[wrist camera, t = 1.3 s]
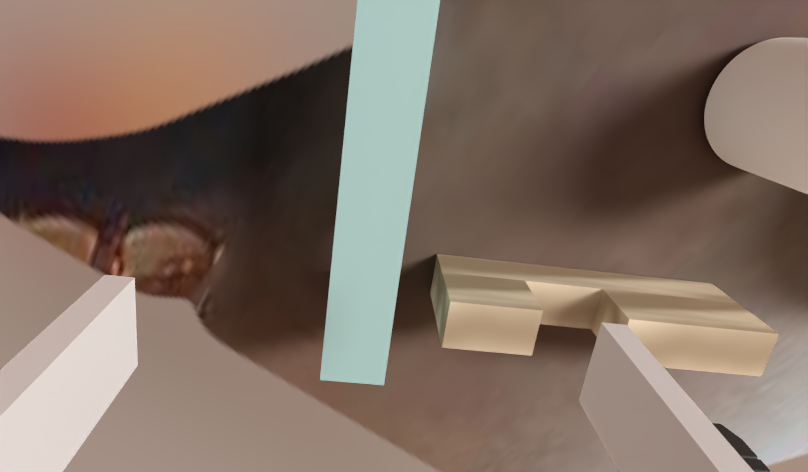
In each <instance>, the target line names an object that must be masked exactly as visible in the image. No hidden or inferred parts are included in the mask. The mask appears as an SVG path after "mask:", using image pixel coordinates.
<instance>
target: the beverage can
mask: <svg viewBox="0 0 808 472" xmlns="http://www.w3.org/2000/svg"><path fill="white" fill-rule="evenodd" d="M704 126H705V132H706V136H707V139H708V142H709V144H710V146H711V147H712V149H713V150H714V152H715V153H716V154H717V155H718V156H719V157H720V158H721V159H722V160H723V161H725V162H726V163H728V164H730V165H732V166H734V167H737V168H740V169H742V170H745V171H747V172H750V173H753V174H755V175H758V176H761V177H763V178H766V179H769V180H771V181H774V182H776V183H779V184H782V185H784V186H787V187H790V188H792V189H795V190H797V191H800V192H803V193H805V194H808V38H774V39H769V40H765V41H762V42H760V43H757V44H755V45H753V46H751V47H749V48H747V49H746V50H744V51H743V52H741V53H740V54H739V55H737V56H736V57H735V58H734V59H733V60H731V61H730V62H729V63H728V64H727V66H726V67H725V68H724V69H723V70H722V72H721V73H720V74H719V76H718V77H717V79H716V80H715V82H714V84H713V86H712V88H711V90H710V92H709V95H708V98H707V102H706V106H705V112H704Z"/></svg>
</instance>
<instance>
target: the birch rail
mask: <svg viewBox="0 0 808 472" xmlns="http://www.w3.org/2000/svg"><path fill="white" fill-rule="evenodd" d="M430 294H431V299H432V304H433V308H434V313H435V318H436V322H437V327H438V332H439V336H440V341H441V346H442V348H453V349H464V350H475V351H486V352H497V353H508V354H519V355H530V356H532V353H533V349H534V345H535V341H536V337H537V333H538V329H539V325H540V324H543V325H553V326H564V327H574V328H585V329H591V330H592V331H593V333H594V334H595V335H596V337H597V336H598V333H599V329H600V326H601V322H602V323H613V324H623V325H627V326H628V327H629V328H630V329H631V331H632V332H633V333H634V334H635V335H636V336H637V338H638V339H639V340H640V341H641V342H642V343H643V344H644V346H645V347H646V348H647V349H648V350H649V351H650V352H651V354H652V355H653V356H654V357H655V358H656V359H657V361H658V362H659V363H660V364H661V365H662V366H663V367H664V368H674V369H685V370H696V371H707V372H718V373H729V374H740V375H752V376H761V375H762V373H763V371H764V368H765V366H766V364H767V361H768V359H769V357H770V354H771V352H772V350H773V347H774V345H775V343H776V340H777V338H778V336H779V334H778V333H777V332H776V331H774V330H773V329H772V328H770V327H769V326H768V325H766V324H765V323H764V322H762V321H761V320H760V319H758V318H757V317H756V316H754V315H753V314H752V313H750V312H749V311H748V310H746V309H745V308H744V307H742V306H741V305H740V304H738V303H737V302H736V301H734V300H733V299H732V298H730V297H729V296H728V295H726V294H725V293H724V292H722V291H721V290H720V289H718V288H717V287H716V286H714V285H713V284H712V283H704V282H694V281H685V280H676V279H666V278H657V277H648V276H638V275H629V274H620V273H610V272H601V271H592V270H582V269H573V268H564V267H554V266H545V265H536V264H526V263H517V262H507V261H498V260H489V259H479V258H470V257H461V256H451V255H442V254H437V257H436V262H435V268H434V274H433V280H432V286H431V292H430Z"/></svg>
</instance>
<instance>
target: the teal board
mask: <svg viewBox="0 0 808 472" xmlns="http://www.w3.org/2000/svg"><path fill="white" fill-rule="evenodd" d="M439 4H440V0H357V8H356V19H355V28H354V39H353V49H352V59H351V69H350V79H349V90H348V100H347V110H346V120H345V130H344V141H343V151H342V161H341V171H340V181H339V192H338V202H337V212H336V222H335V233H334V243H333V253H332V263H331V273H330V284H329V294H328V304H327V314H326V324H325V335H324V345H323V355H322V365H321V375H320V380H327V381H339V382H351V383H363V384H376V385H384V381H385V374H386V367H387V360H388V353H389V347H390V340H391V333H392V326H393V319H394V312H395V306H396V299H397V292H398V285H399V278H400V271H401V264H402V258H403V251H404V244H405V237H406V230H407V223H408V217H409V210H410V203H411V196H412V189H413V182H414V176H415V169H416V162H417V155H418V148H419V141H420V134H421V128H422V121H423V114H424V107H425V100H426V93H427V87H428V80H429V73H430V66H431V59H432V52H433V45H434V39H435V32H436V25H437V18H438V11H439Z"/></svg>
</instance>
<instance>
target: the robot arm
mask: <svg viewBox="0 0 808 472" xmlns="http://www.w3.org/2000/svg"><path fill="white" fill-rule="evenodd" d="M137 366H138V357H137V330H136V302H135V278H132V277H122V276H111V275H104V276H103V277H102V278H101V279H100V280H99V281H98V282H96V284H94V285H93V286H92V287H91V288H90V289H89V290H88V291H87V292H85V293H84V294H83V295H82V296H81V297H80V298H79V299H78V300H77V301H76V302H74V303H73V304H72V305H71V306H70V307H69V308H68V309H67V310H66V311H64V312H63V313H62V314H61V315H60V316H59V317H58V318H57V319H56V320H55V321H53V322H52V323H51V324H50V325H49V326H48V327H47V328H46V329H45V330H43V331H42V332H41V333H40V334H39V335H38V336H37V337H36V338H35V339H34V340H32V341H31V342H30V343H29V344H28V345H27V346H26V347H25V348H24V349H23V350H21V351H20V352H19V353H18V354H17V355H16V356H15V357H14V358H13V359H11V361H9V362H8V363H7V364H6V365H5V366H4V367H3V368H2V369H0V472H63V470H64V469H65V468H66V466H67V465H68V463H69V462H70V461H71V459H72V457H73V456H74V455H75V454H76V452H77V451H78V449H79V448H80V446H81V445H82V444H83V442H84V441H85V439H86V438H87V437H88V435H89V434H90V432H91V430H92V429H93V428H94V427H95V425H96V424H97V422H98V421H99V419H100V418H101V417H102V415H103V414H104V412H105V411H106V410H107V408H108V406H109V405H110V404H111V402H112V401H113V400H114V398H115V397H116V395H117V394H118V393H119V391H120V390H121V388H122V387H123V385H124V384H125V383H126V381H127V380H128V378H129V377H130V375H131V374H132V373H133V371H134V370H135V368H136V367H137ZM579 402H580V404H581V406H582V408H583V409H584V411H585V413H586V415H587V417H588V418H589V420H590V422H591V424H592V426H593V427H594V429H595V431H596V433H597V435H598V436H599V438H600V440H601V442H602V443H603V445H604V447H605V449H606V451H607V452H608V454H609V456H610V458H611V460H612V461H613V463H614V465H615V467H616V468H617V470H618V472H770V470H769V469H768V468H767V467H766V466H765V464H764V463H763V462H762V461H761V460H758V459H757V456H756V455H755V453H754V452H753V451H752V450H751V449H750V448H749V447H748V446H747V445H746V443H745V442H744V441H743V440H742V439H741V438H739V437H738V436H736V435H735V434H734V433H732V432H731V431H729V430H728V429H727V428H725V427H724V426H723V425H721V424H715V423H711V422H710V420H709V419H708V418H707V417H706V416H705V415H704V413H703V412H702V411H701V410H700V409H699V408H698V407H697V405H696V404H695V403H694V402H693V401H692V400H691V399H690V397H689V396H688V395H687V394H686V393H685V392H684V390H683V389H682V388H681V387H680V386H679V385H678V384H677V382H676V381H675V380H674V379H673V378H672V377H671V376H670V374H669V373H668V372H667V371H666V370H665V369H664V367H663V366H662V365H661V364H660V363H659V362H658V361H657V359H656V358H655V357H654V356H653V355H652V354H651V352H650V351H649V350H648V349H647V348H646V347H645V346H644V344H643V343H642V342H641V341H640V340H639V339H638V338H637V336H636V335H635V334H634V333H633V332H632V331H631V329H630V328H629V327H628V326H627V325H623V324H613V323H602V322H601V326H600V329H599V333H598V336H597V340H596V343H595V347H594V350H593V353H592V357H591V360H590V364H589V367H588V371H587V374H586V377H585V381H584V384H583V388H582V391H581V395H580V398H579Z"/></svg>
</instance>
